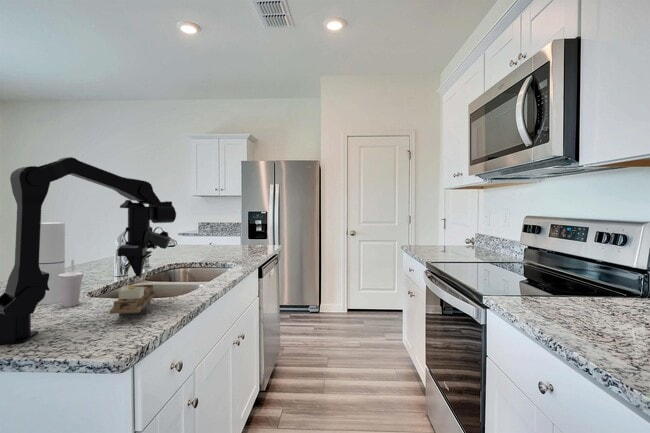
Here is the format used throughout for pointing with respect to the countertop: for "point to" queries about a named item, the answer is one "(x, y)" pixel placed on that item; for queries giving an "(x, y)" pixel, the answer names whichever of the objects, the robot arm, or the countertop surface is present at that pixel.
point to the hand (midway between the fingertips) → (138, 276)
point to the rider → (131, 293)
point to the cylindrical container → (52, 258)
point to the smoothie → (70, 286)
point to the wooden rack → (135, 304)
